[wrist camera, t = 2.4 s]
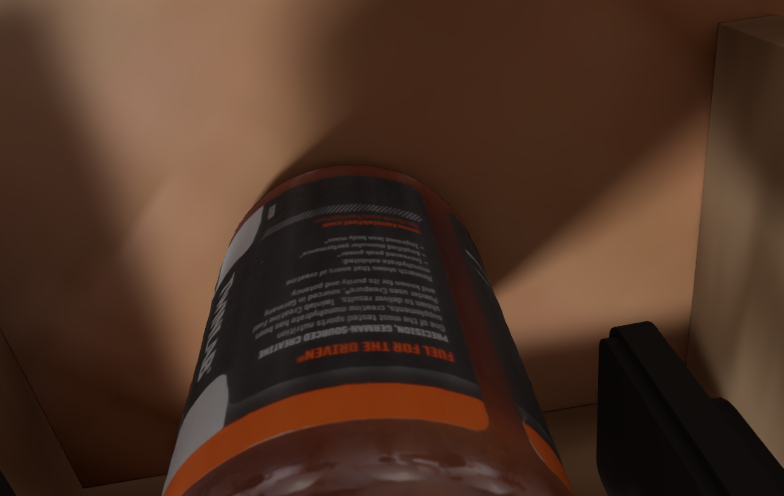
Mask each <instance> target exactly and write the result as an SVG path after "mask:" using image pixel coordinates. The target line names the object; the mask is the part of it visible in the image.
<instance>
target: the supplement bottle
mask: <svg viewBox="0 0 784 496" xmlns="http://www.w3.org/2000/svg"><path fill="white" fill-rule="evenodd" d="M161 496H574V493H573V490H572V488H571V485H570V482H569V480H568V478H567V476H566V473H565V471H564V468H563V465H562V462H561V458H560V455H559V453H558V451H557V449H556V446H555V444H554V442H553V439H552V437H551V434H550V432H549V429H548V427H547V423H546V420H545V419H544V417H543V415H542V412H541V409H540V407H539V404H538V402H537V399H536V396H535V394H534V391H533V388H532V385H531V382H530V380H529V378H528V376H527V374H526V371H525V368H524V365H523V363H522V360H521V358H520V356H519V353H518V350H517V348H516V345H515V343H514V340H513V338H512V336H511V333H510V331H509V328H508V326H507V324H506V322H505V319H504V316H503V313H502V310H501V307H500V305H499V303H498V301H497V298H496V297H495V294H494V291H493V288H492V286H491V283H490V281H489V279H488V276H487V273H486V271H485V269H484V266H483V264H482V261H481V258H480V256H479V253H478V251H477V249H476V246H475V244H474V242H473V240H472V239H471V237H470V234H469V233H468V231H467V229H466V227H465V226H464V224H463V222H462V221H461V219H460V218H459V216H458V215H457V214H456V212H455V211H454V210H453V209H452V208H451V207H450V205H449V204H448V203H447V202H446V201H445V200H444V199H443V198H441V197H440V196H439V195H438V194H437V193H436V192H434V191H433V190H432V189H430V188H429V187H427V186H425V185H424V184H422V183H421V182H419V181H417V180H415V179H413V178H411V177H409V176H407V175H405V174H403V173H400V172H398V171H394V170H389V169H385V168H380V167H374V166H365V165H339V166H331V167H324V168H320V169H316V170H313V171H310V172H307V173H304V174H302V175H299V176H296V177H293V178H290V179H289V180H287V181H285V182H284V183H282V184H280V185H279V186H277V187H275V188H274V189H273V190H271V191H270V192H268V193H267V194H266V195H265V196H264V197H263V198H262V199H261V200H260V201H258V202H257V203H256V204H255V205H254V206H253V207H252V208H251V209H250V211H249V212H248V213H247V214H246V215H245V217H244V218H243V220H242V221H241V223H240V224H239V226H238V227H237V229H236V231H235V234H234V236H233V237H232V239H231V242H230V244H229V247H228V250H227V253H226V255H225V258H224V261H223V264H222V266H221V269H220V273H219V277H218V281H217V284H216V287H215V295H214V298H213V300H212V304H211V309H210V314H209V318H208V321H207V325H206V328H205V332H204V335H203V341H202V345H201V350H200V354H199V358H198V362H197V365H196V368H195V372H194V376H193V381H192V383H191V385H190V390H189V395H188V398H187V400H186V404H185V408H184V411H183V415H182V419H181V423H180V426H179V429H178V437H177V440H176V443H175V447H174V450H173V453H172V456H171V460H170V464H169V469H168V473H167V477H166V480H165V483H164V486H163V489H162V494H161Z"/></svg>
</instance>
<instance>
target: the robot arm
mask: <svg viewBox="0 0 784 496" xmlns="http://www.w3.org/2000/svg"><path fill="white" fill-rule="evenodd" d="M596 463H597V469H598V473H599V476H600V479H601V482H602V484H603V486H604V488H605V490H606V493H607V495H608V496H784V468H783V467H782V466H781V464H780V463H779V462H778V461H777V459H776V458H775V457H774V456H773V454H772V453H771V452H770V451H769V449H768V448H767V447H766V446H765V444H764V443H763V442H762V441H761V439H760V438H759V437H758V436H757V434H756V433H755V432H754V430H753V429H752V428H751V427H750V425H749V424H748V423H747V422H746V420H745V419H744V418H743V417H742V415H741V414H740V413H739V412H738V410H737V409H736V408H735V407H734V406H733V405H732V404H731V403H730V402H729V401H728V400H726V399H724V398H722V397H718V398H711V399H710V397H709V396H708V395H707V393H706V392H705V391H704V389H703V388H702V387H701V385H700V384H699V383H698V382H697V380H696V379H695V378H694V376H693V375H692V374H691V372H690V371H689V370H688V368H687V367H686V366H685V364H684V363H683V362H682V361H681V359H680V358H679V357H678V355H677V354H676V353H675V351H674V350H673V349H672V347H671V346H670V345H669V343H668V342H667V341H666V339H665V338H664V337H663V336H662V334H661V333H660V332H659V330H658V329H657V328H656V326H655V325H654V324H653V323H652V322H649V321H645V322H640V323H634V324H629V325H623V326H618V327H613V328H611V330H610V334H609V338H605V339H601V340H600V343H599V367H598V406H597V445H596ZM0 496H16V494H15V492H14V491H13V489H12V488H11V486H10V484H9V483H8V481H7V480H6V478H5V476H4V475H3V473H2V472H1V470H0Z"/></svg>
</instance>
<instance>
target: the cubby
mask: <svg viewBox="0 0 784 496" xmlns="http://www.w3.org/2000/svg"><path fill="white" fill-rule="evenodd" d="M686 367H687V368H688V370H689V371H690V372H691V374H692V375H693V376H694V378H695V379H696V380H697V382H698V383H699V384H700V385H701V387H702V388H703V389H704V391H705V392H706V393H707V395H708V396H709V397H710V399H711V398H718V397H722V398H724V399H726V400H728V401H729V402H730V403H731V404H732V405H733V406H734V407H735V408H736V409H737V410H738V412H739V413H740V414H741V415H742V417H743V418H744V419H745V420H746V422H747V423H748V424H749V425H750V427H751V428H752V429H753V430H754V432H755V433H756V434H757V436H758V437H759V438H760V439H761V441H762V442H763V443H764V444H765V446H766V447H767V448H768V449H769V451H770V452H771V453H772V454H773V456H774V457H775V458H776V459H777V461H778V462H779V463H780V464H781V466H782V467H783V468H784V17H783V16H779V15H769V16H763V17H757V18H751V19H745V20H738V21H732V22H726V23H720V24H719V29H718V40H717V50H716V60H715V71H714V81H713V92H712V102H711V113H710V123H709V133H708V144H707V154H706V165H705V175H704V186H703V196H702V206H701V217H700V227H699V238H698V248H697V259H696V269H695V279H694V290H693V300H692V311H691V321H690V332H689V342H688V352H687V363H686ZM597 406H598V404H594V405H588V406H582V407H576V408H570V409H564V410H558V411H552V412H546V413H542V415H543V417H544V419H545V420H546V423H547V427H548V429H549V432H550V434H551V437H552V439H553V442H554V444H555V446H556V449H557V451H558V453H559V455H560V458H561V462H562V465H563V468H564V471H565V473H566V476H567V478H568V480H569V482H570V485H571V488H572V490H573V493H574V496H608V495H607V493H606V490H605V488H604V486H603V484H602V482H601V479H600V476H599V473H598V469H597V463H596V445H597ZM0 470H1V472H2V473H3V475H4V476H5V478H6V480H7V481H8V483H9V484H10V486H11V488H12V489H13V491H14V492H15V494H16V496H161V494H162V489H163V486H164V483H165V480H166V477H167V475H163V476H157V477H151V478H145V479H139V480H133V481H126V482H120V483H114V484H108V485H102V486H96V487H90V488H84V489H83V487H82V486H81V484H80V482H79V480H78V478H77V476H76V474H75V472H74V470H73V468H72V466H71V464H70V463H69V461H68V459H67V457H66V455H65V453H64V451H63V449H62V447H61V445H60V443H59V441H58V440H57V438H56V436H55V434H54V432H53V430H52V428H51V426H50V424H49V422H48V420H47V419H46V417H45V415H44V413H43V411H42V409H41V407H40V405H39V403H38V401H37V399H36V397H35V396H34V394H33V392H32V390H31V388H30V386H29V384H28V382H27V380H26V378H25V376H24V374H23V373H22V371H21V369H20V367H19V365H18V363H17V361H16V359H15V357H14V355H13V353H12V351H11V350H10V348H9V346H8V344H7V342H6V340H5V338H4V336H3V334H2V332H1V330H0Z"/></svg>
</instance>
